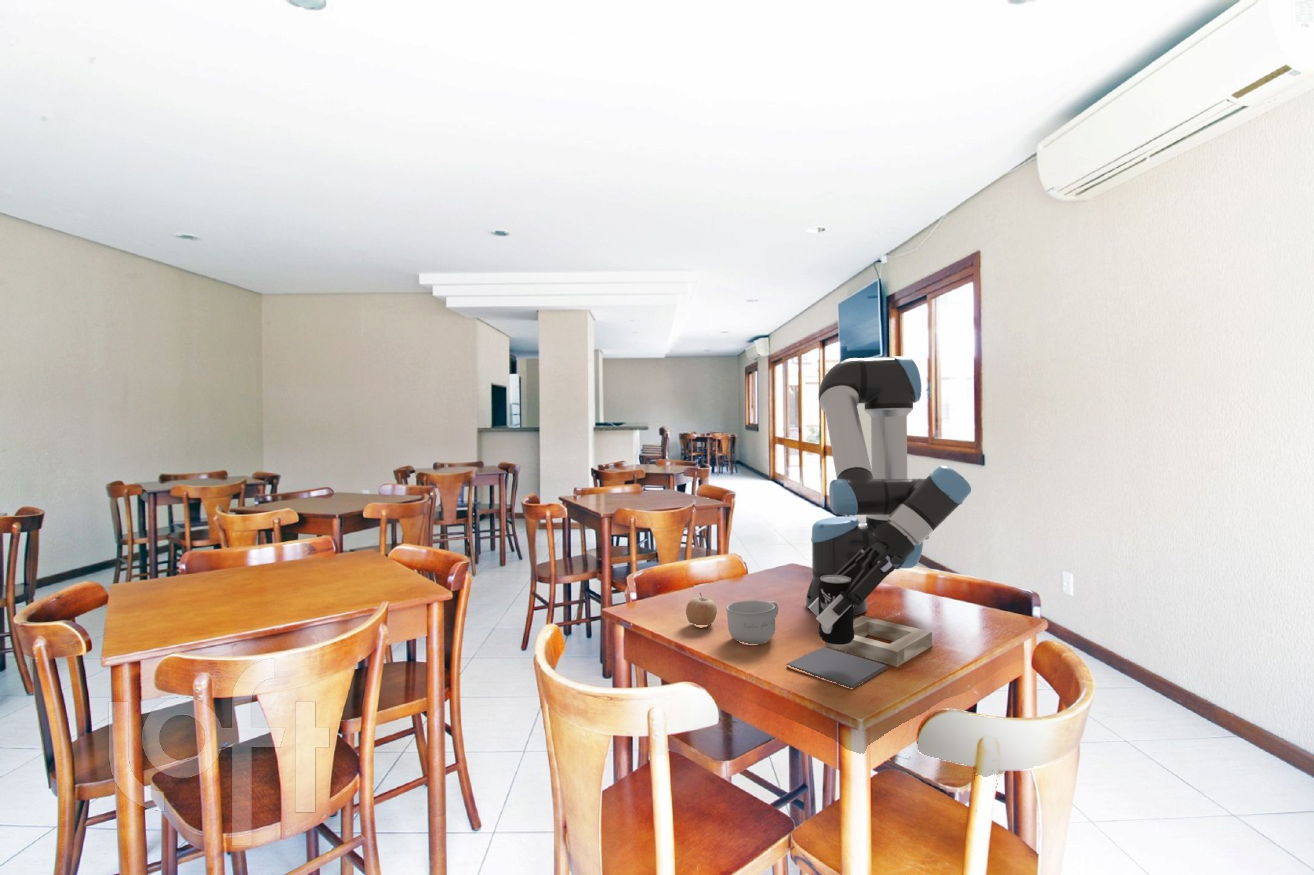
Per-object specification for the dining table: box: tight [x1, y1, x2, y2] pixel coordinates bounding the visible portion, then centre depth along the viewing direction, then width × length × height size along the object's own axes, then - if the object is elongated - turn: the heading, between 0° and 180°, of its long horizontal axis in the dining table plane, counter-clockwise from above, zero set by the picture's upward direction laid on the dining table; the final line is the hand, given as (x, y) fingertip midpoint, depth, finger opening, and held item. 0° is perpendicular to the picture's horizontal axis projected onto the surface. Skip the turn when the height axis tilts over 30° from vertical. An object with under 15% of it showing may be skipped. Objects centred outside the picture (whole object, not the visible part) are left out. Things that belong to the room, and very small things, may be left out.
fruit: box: [685, 592, 718, 625], centre depth 144 cm, size 8×7×8 cm
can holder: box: [824, 615, 933, 668], centre depth 129 cm, size 16×16×3 cm
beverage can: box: [818, 575, 855, 645], centre depth 116 cm, size 7×7×12 cm
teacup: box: [725, 600, 779, 645], centre depth 134 cm, size 14×11×8 cm
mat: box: [786, 646, 887, 689], centre depth 117 cm, size 14×13×1 cm
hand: (817, 617), depth 116 cm, fingers closed on beverage can, 6 cm apart
